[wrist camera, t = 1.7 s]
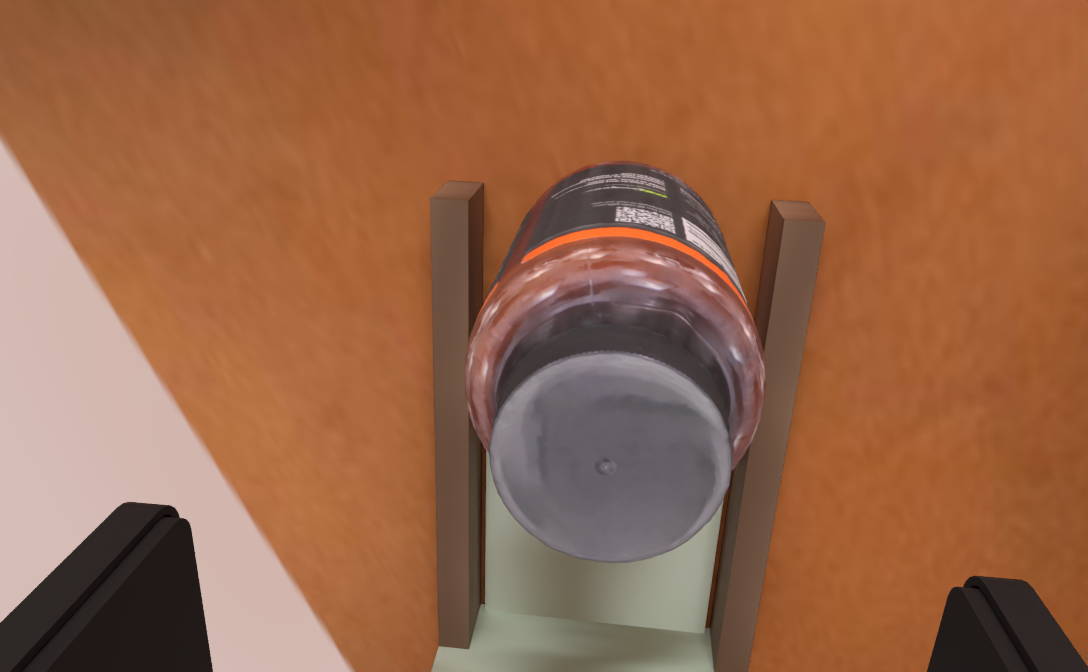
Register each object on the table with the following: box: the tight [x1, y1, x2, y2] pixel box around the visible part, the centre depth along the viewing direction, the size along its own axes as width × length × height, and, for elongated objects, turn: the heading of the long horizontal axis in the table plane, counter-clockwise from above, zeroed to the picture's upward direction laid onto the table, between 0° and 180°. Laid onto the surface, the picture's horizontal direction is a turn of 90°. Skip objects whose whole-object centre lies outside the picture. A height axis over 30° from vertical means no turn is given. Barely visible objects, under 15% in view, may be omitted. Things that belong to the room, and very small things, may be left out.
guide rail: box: [430, 181, 826, 672], centre depth 24 cm, size 10×16×4 cm, turn 178°
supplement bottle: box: [464, 161, 766, 563], centre depth 18 cm, size 6×6×11 cm
